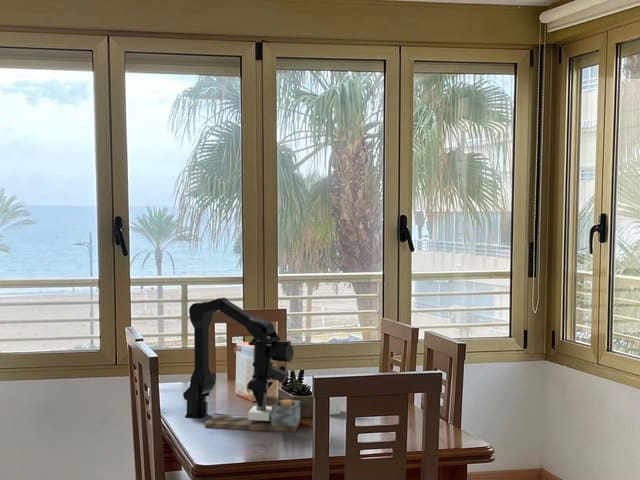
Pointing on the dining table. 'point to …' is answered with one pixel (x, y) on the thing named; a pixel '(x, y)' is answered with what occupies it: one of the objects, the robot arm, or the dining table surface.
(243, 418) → the rail board
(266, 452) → the dining table surface
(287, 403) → the button
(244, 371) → the cracker box
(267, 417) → the carriage
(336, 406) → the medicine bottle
